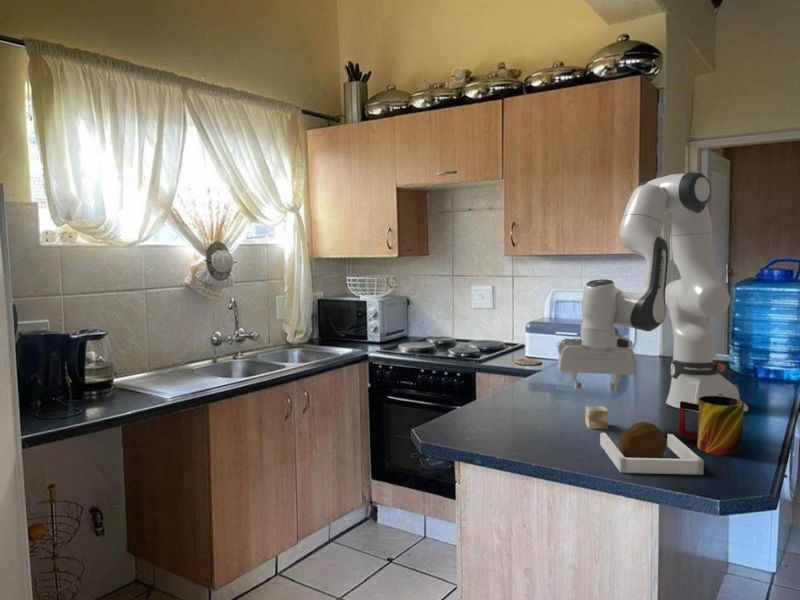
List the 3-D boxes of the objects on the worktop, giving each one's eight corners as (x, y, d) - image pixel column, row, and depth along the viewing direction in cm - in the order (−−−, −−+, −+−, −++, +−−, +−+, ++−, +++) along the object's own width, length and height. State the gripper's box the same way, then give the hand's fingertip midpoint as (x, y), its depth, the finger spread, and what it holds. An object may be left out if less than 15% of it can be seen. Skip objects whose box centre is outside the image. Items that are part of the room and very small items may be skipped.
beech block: (603, 424, 171) (603, 406, 171) (607, 429, 166) (608, 411, 166) (585, 423, 172) (585, 406, 171) (588, 429, 167) (589, 410, 166)
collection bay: (672, 445, 152) (672, 434, 151) (703, 474, 133) (703, 461, 132) (600, 444, 153) (600, 432, 153) (620, 472, 134) (620, 459, 134)
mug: (678, 438, 157) (679, 393, 156) (739, 445, 152) (741, 398, 151) (678, 450, 149) (680, 401, 147) (743, 458, 143) (745, 407, 142)
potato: (606, 455, 145) (606, 419, 145) (651, 451, 148) (652, 416, 147) (625, 467, 137) (626, 429, 136) (673, 463, 139) (674, 426, 139)
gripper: (560, 340, 164) (558, 390, 166) (638, 342, 163) (636, 393, 164) (556, 336, 171) (554, 385, 172) (631, 338, 169) (629, 387, 170)
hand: (595, 389), depth 168 cm, fingers open, 8 cm apart
